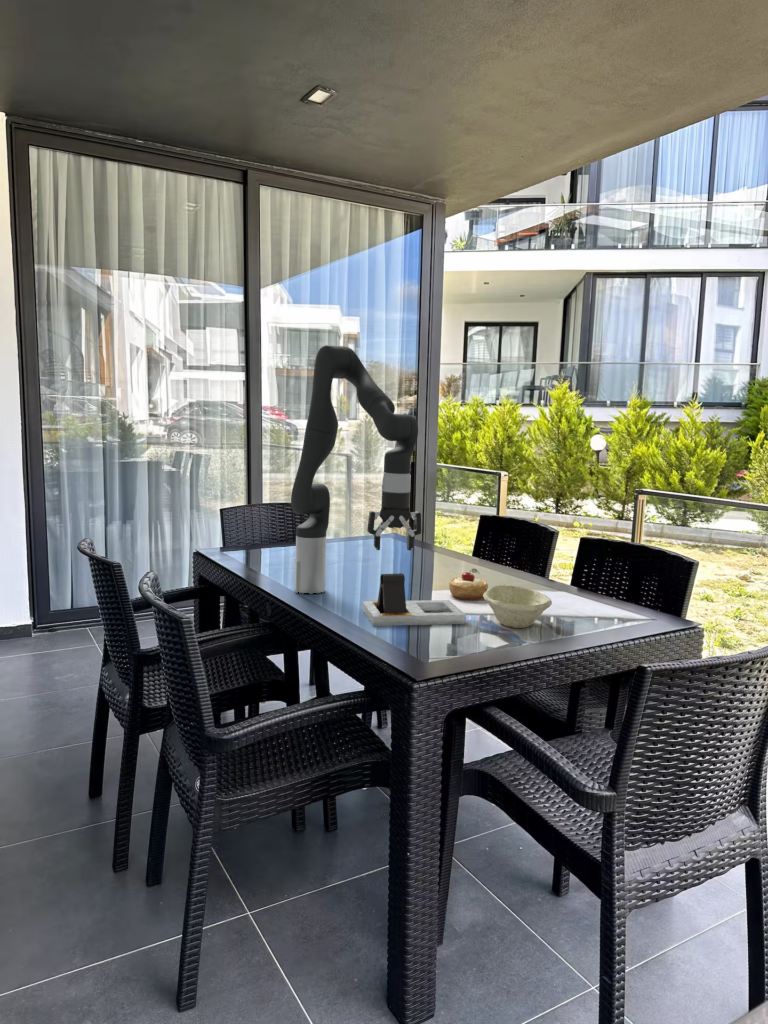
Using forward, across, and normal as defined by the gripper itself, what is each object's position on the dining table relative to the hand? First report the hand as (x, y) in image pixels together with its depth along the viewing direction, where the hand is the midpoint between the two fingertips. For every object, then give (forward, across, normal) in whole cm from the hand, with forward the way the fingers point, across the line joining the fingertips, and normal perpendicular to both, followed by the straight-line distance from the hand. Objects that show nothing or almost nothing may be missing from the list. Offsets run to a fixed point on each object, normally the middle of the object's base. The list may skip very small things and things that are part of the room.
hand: (393, 549), depth 197 cm
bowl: (+18, +32, -10) cm, 38 cm away
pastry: (+19, +29, +22) cm, 41 cm away
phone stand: (+19, 0, 0) cm, 19 cm away
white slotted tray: (+18, +6, 0) cm, 19 cm away
